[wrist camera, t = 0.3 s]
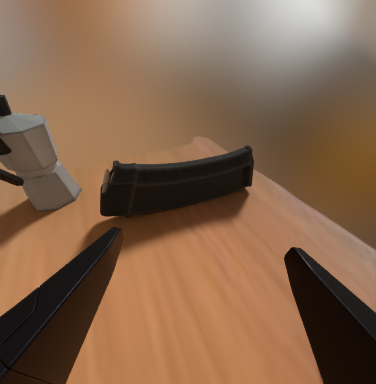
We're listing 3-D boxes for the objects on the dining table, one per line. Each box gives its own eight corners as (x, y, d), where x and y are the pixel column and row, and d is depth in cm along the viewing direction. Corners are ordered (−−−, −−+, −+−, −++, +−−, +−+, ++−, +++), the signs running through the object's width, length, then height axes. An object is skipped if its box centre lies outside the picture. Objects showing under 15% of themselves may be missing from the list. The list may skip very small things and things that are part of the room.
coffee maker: (48, 178, 38) (-10, 85, 26) (89, 176, 39) (52, 87, 27) (3, 232, 27) (-134, 115, 15) (63, 228, 28) (-21, 115, 16)
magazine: (262, 146, 35) (103, 110, 20) (273, 153, 33) (103, 118, 18) (226, 205, 44) (99, 209, 30) (233, 214, 42) (99, 223, 27)
